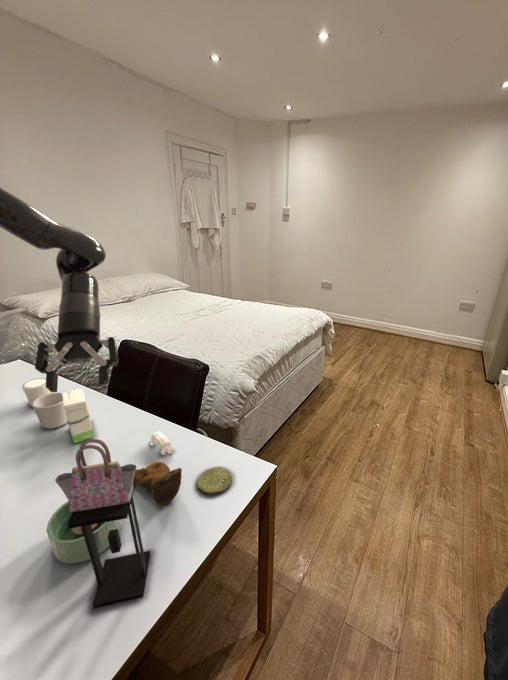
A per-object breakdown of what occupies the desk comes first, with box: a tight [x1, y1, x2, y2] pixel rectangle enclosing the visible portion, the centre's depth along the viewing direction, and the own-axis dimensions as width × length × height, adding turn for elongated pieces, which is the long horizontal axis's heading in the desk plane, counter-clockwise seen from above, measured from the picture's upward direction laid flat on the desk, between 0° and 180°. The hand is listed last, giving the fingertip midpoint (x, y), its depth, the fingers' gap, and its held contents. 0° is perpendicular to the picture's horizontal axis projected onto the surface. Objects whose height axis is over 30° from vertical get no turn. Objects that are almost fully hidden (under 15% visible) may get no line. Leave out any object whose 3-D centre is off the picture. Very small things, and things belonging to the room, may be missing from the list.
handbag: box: [54, 438, 151, 610], centre depth 50 cm, size 10×8×30 cm
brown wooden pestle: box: [72, 523, 101, 539], centre depth 60 cm, size 4×4×15 cm
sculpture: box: [135, 461, 183, 506], centre depth 72 cm, size 8×10×15 cm
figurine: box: [149, 430, 173, 456], centre depth 85 cm, size 2×8×5 cm, turn 50°
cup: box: [31, 392, 68, 430], centre depth 93 cm, size 11×8×8 cm
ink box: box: [61, 387, 95, 444], centre depth 88 cm, size 9×5×12 cm, turn 38°
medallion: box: [196, 466, 233, 495], centre depth 76 cm, size 8×8×1 cm
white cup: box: [21, 377, 52, 407], centre depth 101 cm, size 7×7×7 cm
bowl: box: [46, 500, 122, 565], centre depth 62 cm, size 11×11×6 cm
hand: (78, 388), depth 65 cm, fingers open, 8 cm apart
